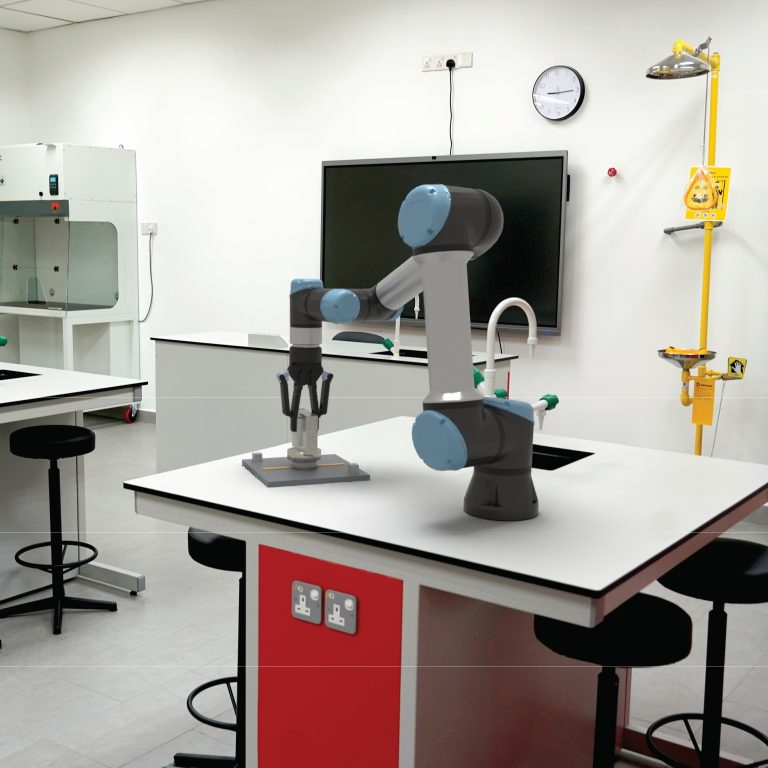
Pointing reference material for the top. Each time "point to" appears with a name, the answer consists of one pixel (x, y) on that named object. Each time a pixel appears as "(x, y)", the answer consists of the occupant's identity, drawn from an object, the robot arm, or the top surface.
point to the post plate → (303, 470)
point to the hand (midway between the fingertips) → (304, 444)
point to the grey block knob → (306, 439)
